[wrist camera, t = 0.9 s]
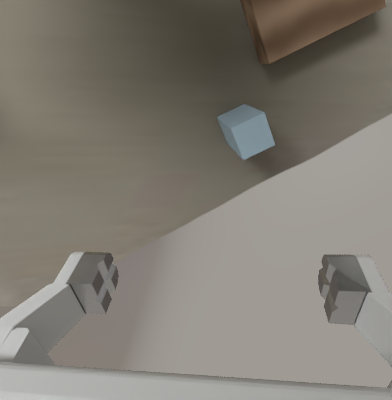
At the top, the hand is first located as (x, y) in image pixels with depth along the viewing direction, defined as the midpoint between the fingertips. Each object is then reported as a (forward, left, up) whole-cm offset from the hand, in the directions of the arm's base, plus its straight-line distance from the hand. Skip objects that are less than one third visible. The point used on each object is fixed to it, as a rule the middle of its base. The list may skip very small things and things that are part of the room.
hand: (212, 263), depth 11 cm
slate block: (+6, +10, -40) cm, 42 cm away
